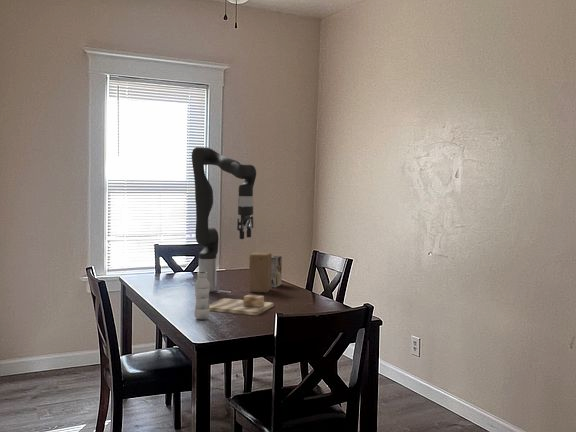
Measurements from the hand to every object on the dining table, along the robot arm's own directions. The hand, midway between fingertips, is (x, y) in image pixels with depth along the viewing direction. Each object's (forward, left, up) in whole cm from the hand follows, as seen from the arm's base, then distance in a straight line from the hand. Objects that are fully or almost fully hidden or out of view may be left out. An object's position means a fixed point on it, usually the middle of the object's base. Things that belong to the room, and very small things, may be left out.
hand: (245, 238), depth 288 cm
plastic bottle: (0, -45, -30) cm, 54 cm away
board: (+6, -20, -30) cm, 37 cm away
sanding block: (+13, -20, -29) cm, 37 cm away
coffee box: (+1, +36, -30) cm, 47 cm away
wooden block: (0, +20, -30) cm, 36 cm away
